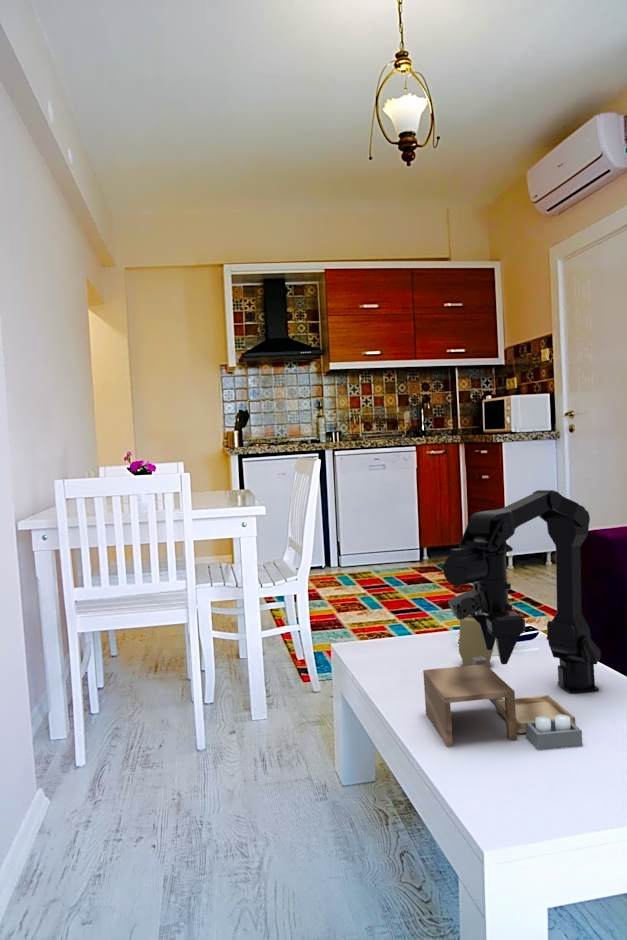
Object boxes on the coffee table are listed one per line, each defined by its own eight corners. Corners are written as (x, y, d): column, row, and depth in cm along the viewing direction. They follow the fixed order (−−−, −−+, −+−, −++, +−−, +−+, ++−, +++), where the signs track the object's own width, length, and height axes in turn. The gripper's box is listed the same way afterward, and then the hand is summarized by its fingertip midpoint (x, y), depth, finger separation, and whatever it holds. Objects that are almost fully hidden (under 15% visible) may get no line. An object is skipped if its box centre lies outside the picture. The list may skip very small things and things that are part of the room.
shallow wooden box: (520, 679, 155) (518, 653, 155) (575, 727, 128) (573, 695, 128) (472, 684, 154) (471, 657, 154) (518, 733, 127) (516, 701, 127)
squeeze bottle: (487, 673, 162) (483, 597, 161) (454, 669, 166) (450, 595, 165) (498, 662, 169) (493, 590, 168) (466, 659, 173) (461, 588, 172)
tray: (568, 734, 126) (567, 710, 126) (582, 747, 121) (581, 722, 121) (526, 738, 126) (525, 714, 126) (538, 751, 120) (536, 726, 120)
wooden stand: (488, 707, 141) (485, 664, 141) (517, 739, 125) (514, 691, 125) (425, 713, 140) (423, 670, 140) (447, 747, 124) (444, 697, 124)
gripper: (439, 572, 142) (444, 646, 143) (463, 590, 124) (468, 675, 124) (492, 567, 143) (497, 642, 143) (523, 585, 124) (529, 670, 125)
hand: (496, 656), depth 134 cm, fingers open, 9 cm apart
